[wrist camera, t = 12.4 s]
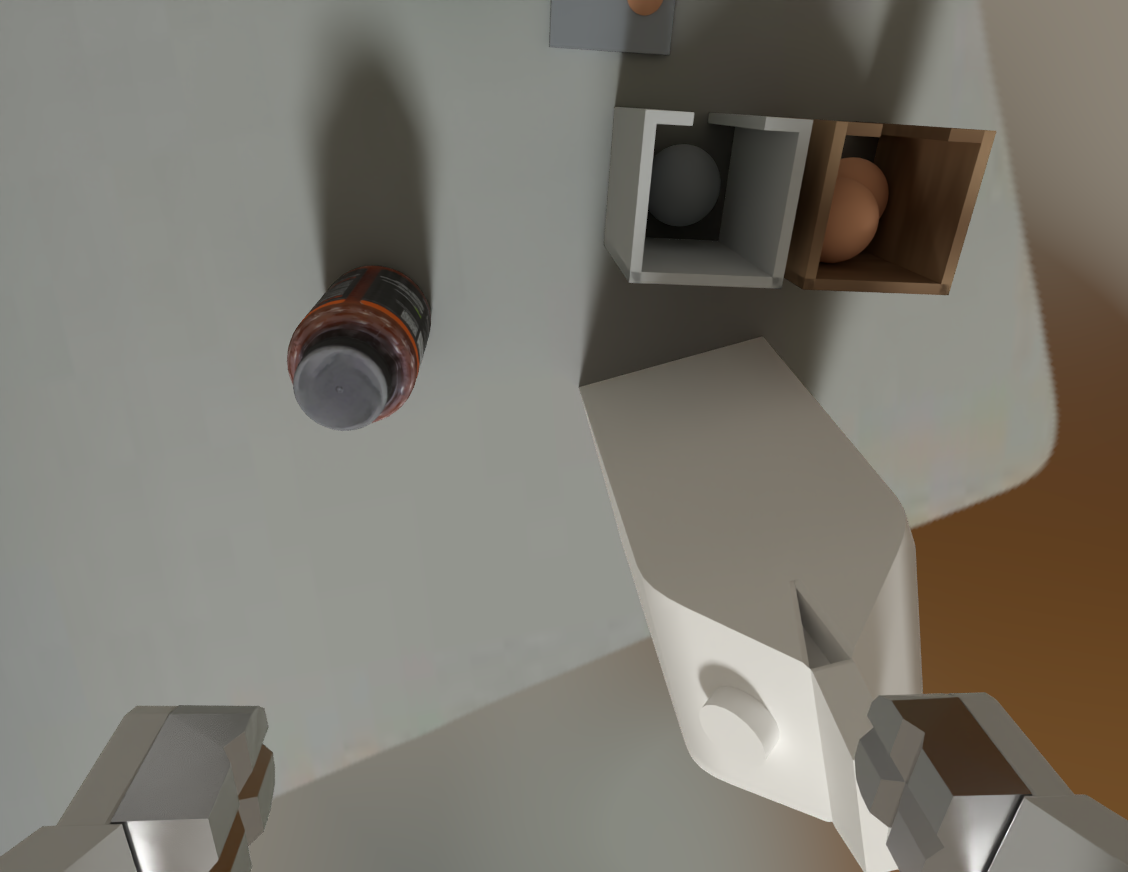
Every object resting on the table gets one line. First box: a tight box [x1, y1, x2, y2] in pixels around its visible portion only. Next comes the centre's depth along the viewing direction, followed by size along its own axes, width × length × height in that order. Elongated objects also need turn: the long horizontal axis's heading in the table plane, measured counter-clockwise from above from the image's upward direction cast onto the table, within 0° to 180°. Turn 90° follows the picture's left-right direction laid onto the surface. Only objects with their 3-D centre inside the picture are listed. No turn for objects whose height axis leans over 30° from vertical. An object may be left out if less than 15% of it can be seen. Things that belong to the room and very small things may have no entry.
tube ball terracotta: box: [837, 157, 889, 218], centre depth 37 cm, size 4×4×4 cm
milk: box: [579, 336, 923, 872], centre depth 34 cm, size 12×12×26 cm
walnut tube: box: [768, 116, 996, 295], centre depth 35 cm, size 7×7×9 cm
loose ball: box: [819, 177, 879, 263], centre depth 35 cm, size 4×4×4 cm
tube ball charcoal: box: [648, 144, 721, 226], centre depth 36 cm, size 4×4×4 cm
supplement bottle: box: [287, 266, 431, 431], centre depth 35 cm, size 6×6×11 cm
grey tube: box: [604, 107, 813, 289], centre depth 34 cm, size 7×7×9 cm
